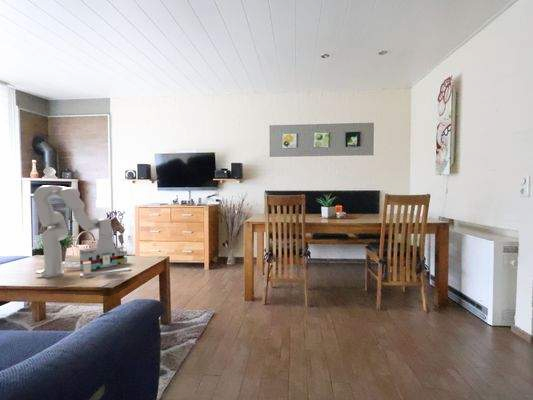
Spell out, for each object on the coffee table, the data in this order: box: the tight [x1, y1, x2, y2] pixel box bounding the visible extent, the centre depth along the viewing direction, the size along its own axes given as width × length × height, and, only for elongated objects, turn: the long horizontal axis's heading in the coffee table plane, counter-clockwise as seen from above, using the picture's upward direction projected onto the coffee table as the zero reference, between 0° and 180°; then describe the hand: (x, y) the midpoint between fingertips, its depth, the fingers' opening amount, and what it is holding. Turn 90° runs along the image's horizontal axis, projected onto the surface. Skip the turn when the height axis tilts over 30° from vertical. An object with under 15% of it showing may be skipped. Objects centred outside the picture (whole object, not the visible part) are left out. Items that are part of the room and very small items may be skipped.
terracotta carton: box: [82, 261, 92, 275], centre depth 200 cm, size 4×7×8 cm
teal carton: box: [102, 253, 111, 268], centre depth 206 cm, size 4×7×8 cm, turn 32°
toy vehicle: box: [79, 245, 128, 271], centre depth 224 cm, size 8×30×15 cm, turn 143°
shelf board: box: [79, 267, 132, 278], centre depth 206 cm, size 30×11×2 cm, turn 122°
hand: (106, 263), depth 206 cm, fingers closed on teal carton, 4 cm apart
